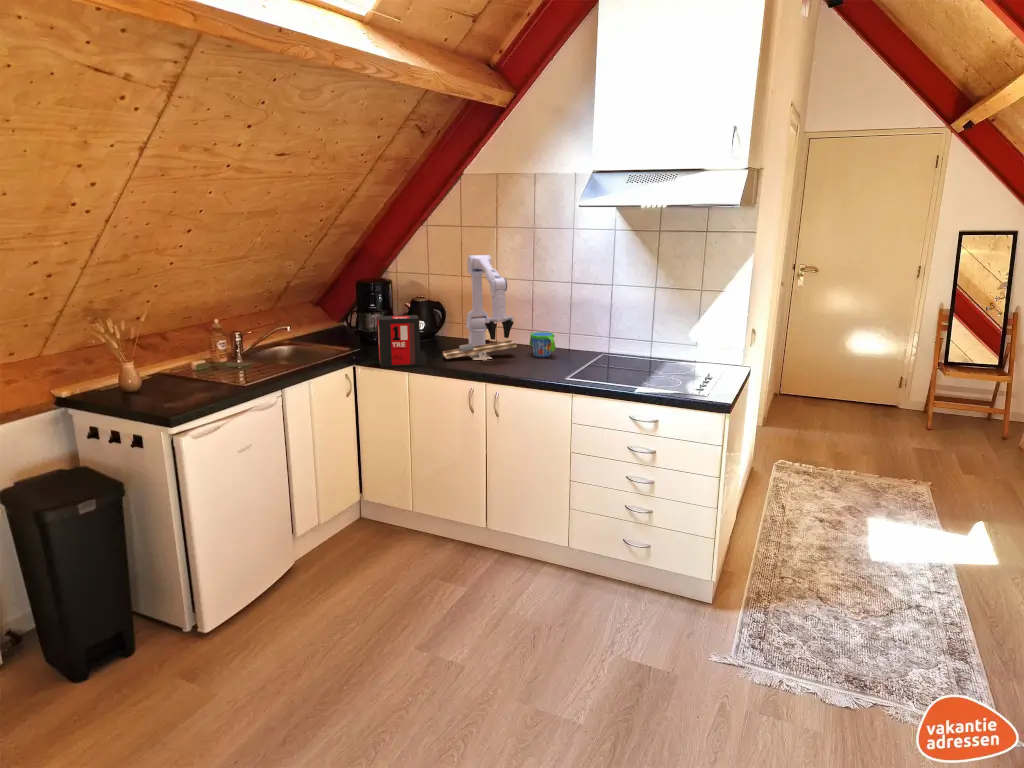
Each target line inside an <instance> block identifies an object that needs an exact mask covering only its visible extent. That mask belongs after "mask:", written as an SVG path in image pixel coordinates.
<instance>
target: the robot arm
mask: <svg viewBox="0 0 1024 768" xmlns="http://www.w3.org/2000/svg"><path fill="white" fill-rule="evenodd" d="M466 264H467V266H466V267H467V273H468V274H470V276H471V278H470V279H471V301H472V302H471V304H472V305H471V306H472V309H471V310H470V311H469V312H467V313H466V320H465V325H466V329H467V330H468V331H469V332H468V344H471V345H473V346H479V345H485V344H486V332H487V331H488V333H489V336H490V340H494V341H495V340H496V332H497V331H496V329H497V327H498V325H497V323H500V322H501V324H502V329H503V337H504V338H505V339H509V338H510V332H511V329H512V327H513V325H514V316H513V315H507V314H506V313H507V310H506V308H507V307H506V292H507V290H508V281H507V278H506V277H502V276H501V275H500V273H499V272H498V270H497V269H496V268H493V267H492V264H493V263H492V257H491V255H490V254H479V255H478V254H475V255H474V254H473V255H472V254H469V255H468V257H467V262H466ZM483 275H484V277H485V279H486V281H487V282H488V283H489V284H488V285H489V291H490V296H491V304H492V305H491V306H492V307H491V309H492V311H491V312H492V314H491V315H492V317H489V313H488V312H487V311H485V310H484V307H483V306H484V305H483V304H484V303H483Z"/></svg>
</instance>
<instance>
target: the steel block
mask: <svg viewBox="0 0 1024 768" xmlns="http://www.w3.org/2000/svg"><path fill="white" fill-rule="evenodd" d="M459 349H460V351H461V352H464V351H470V350H474V349H473V345H471V344H469V343H467V344H466V343H465V344H461V345H459Z"/></svg>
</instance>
